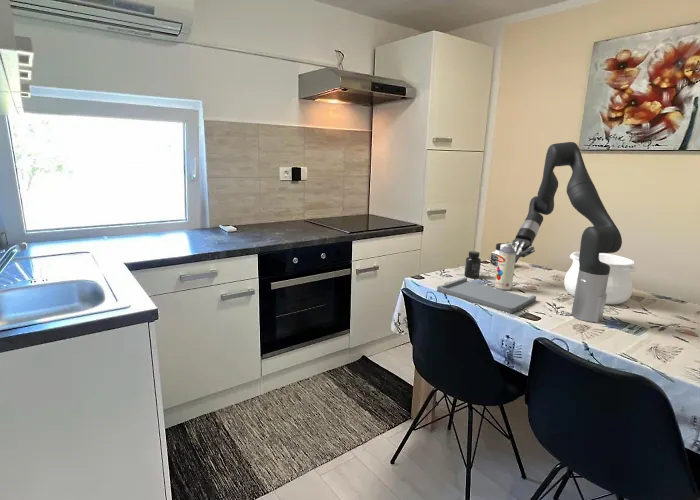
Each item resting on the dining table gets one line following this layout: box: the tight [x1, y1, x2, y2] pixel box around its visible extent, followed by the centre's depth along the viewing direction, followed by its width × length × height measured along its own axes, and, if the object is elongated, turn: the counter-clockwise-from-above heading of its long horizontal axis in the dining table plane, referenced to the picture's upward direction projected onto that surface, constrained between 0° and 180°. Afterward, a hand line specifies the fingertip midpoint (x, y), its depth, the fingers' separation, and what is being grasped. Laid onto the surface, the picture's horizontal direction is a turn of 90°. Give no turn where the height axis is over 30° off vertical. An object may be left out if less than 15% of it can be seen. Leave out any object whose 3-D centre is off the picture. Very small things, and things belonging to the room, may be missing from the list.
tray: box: [436, 276, 537, 315], centre depth 164 cm, size 32×22×2 cm
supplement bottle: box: [464, 250, 482, 279], centre depth 190 cm, size 7×7×12 cm
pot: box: [563, 251, 637, 305], centre depth 168 cm, size 26×24×17 cm
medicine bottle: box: [489, 242, 507, 268], centre depth 212 cm, size 7×7×12 cm
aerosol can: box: [494, 242, 516, 292], centre depth 173 cm, size 7×7×20 cm
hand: (512, 262), depth 177 cm, fingers closed
